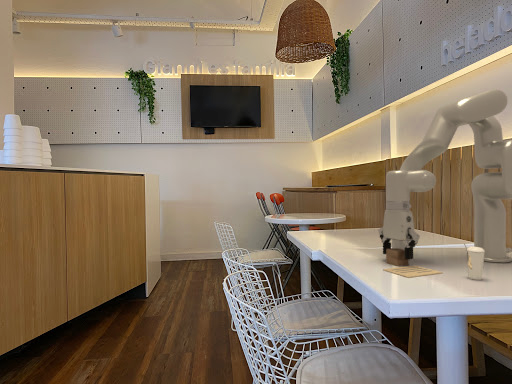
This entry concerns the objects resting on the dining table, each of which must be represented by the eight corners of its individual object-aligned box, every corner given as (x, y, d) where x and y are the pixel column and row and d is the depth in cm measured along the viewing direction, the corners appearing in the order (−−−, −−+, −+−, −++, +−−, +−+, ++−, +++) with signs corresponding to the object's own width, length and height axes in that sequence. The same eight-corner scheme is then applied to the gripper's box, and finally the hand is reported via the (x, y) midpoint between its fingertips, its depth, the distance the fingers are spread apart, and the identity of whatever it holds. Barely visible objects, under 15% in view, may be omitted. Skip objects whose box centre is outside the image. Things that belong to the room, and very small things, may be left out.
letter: (415, 266, 112) (415, 265, 112) (442, 273, 102) (442, 272, 102) (382, 270, 106) (382, 269, 106) (408, 277, 97) (408, 276, 97)
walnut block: (397, 262, 119) (397, 248, 118) (408, 265, 114) (408, 250, 114) (386, 263, 117) (386, 248, 117) (397, 266, 112) (397, 251, 112)
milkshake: (459, 276, 99) (459, 242, 99) (478, 276, 99) (478, 242, 99) (468, 280, 94) (469, 245, 94) (488, 280, 94) (488, 245, 94)
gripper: (427, 207, 108) (426, 260, 109) (387, 205, 124) (387, 251, 125) (409, 208, 106) (409, 262, 106) (371, 205, 122) (371, 252, 122)
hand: (397, 256), depth 115 cm, fingers open, 9 cm apart
